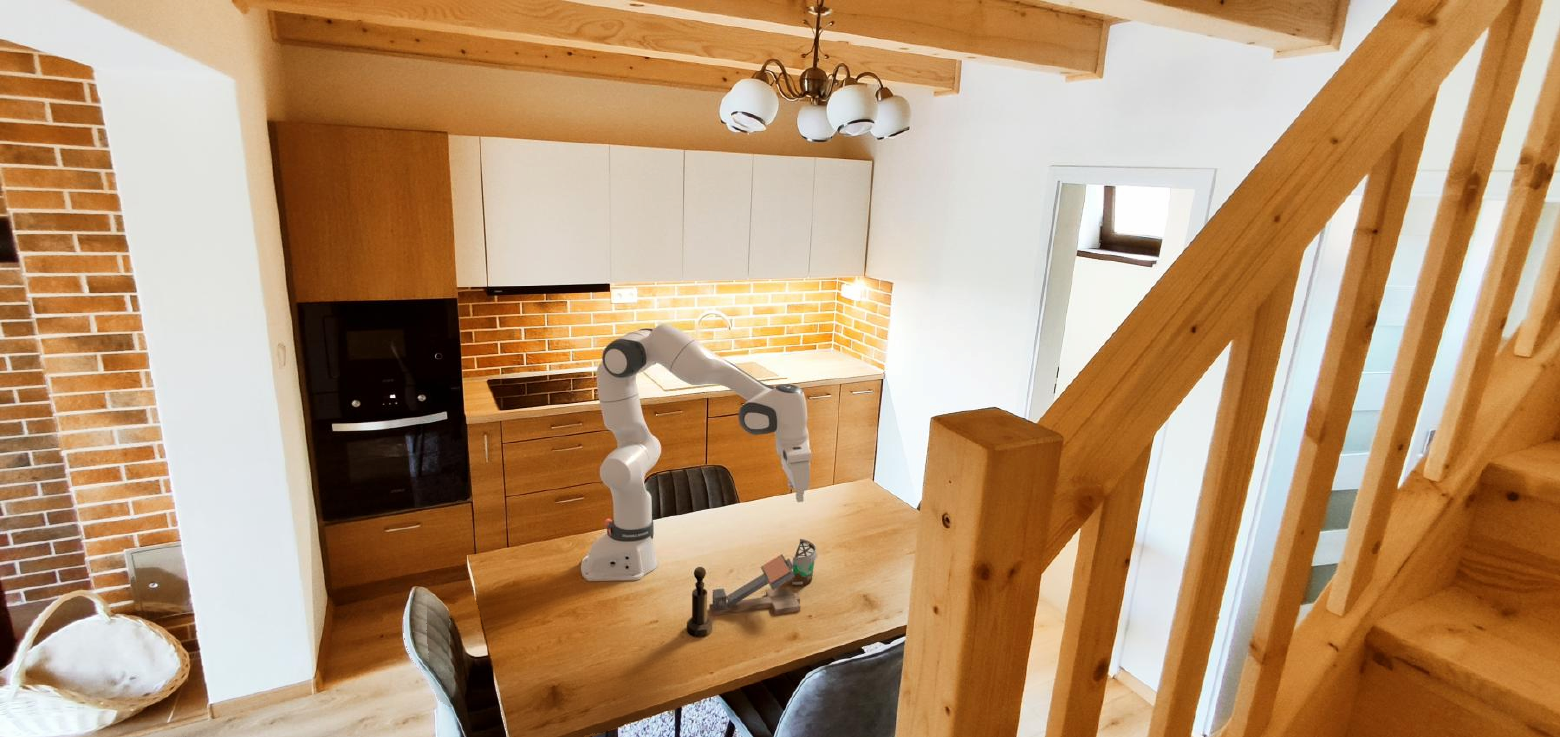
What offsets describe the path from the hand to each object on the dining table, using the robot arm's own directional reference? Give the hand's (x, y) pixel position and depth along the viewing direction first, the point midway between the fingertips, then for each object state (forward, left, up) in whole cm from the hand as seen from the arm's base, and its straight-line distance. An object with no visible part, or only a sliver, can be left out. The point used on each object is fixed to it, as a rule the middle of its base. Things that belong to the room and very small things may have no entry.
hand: (796, 494), depth 197 cm
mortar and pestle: (-27, -7, -33) cm, 43 cm away
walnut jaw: (-10, 0, -33) cm, 34 cm away
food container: (+8, +10, -33) cm, 35 cm away
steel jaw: (-9, 0, -26) cm, 27 cm away
